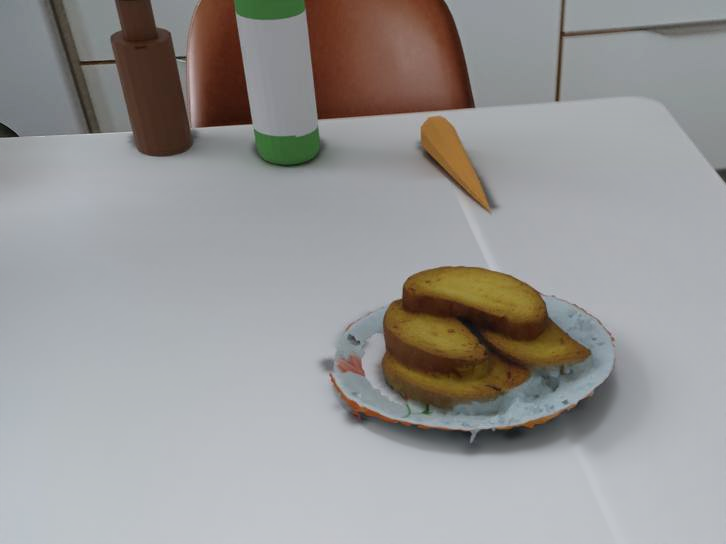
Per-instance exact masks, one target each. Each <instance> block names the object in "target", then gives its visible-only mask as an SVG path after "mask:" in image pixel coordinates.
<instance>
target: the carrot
mask: <svg viewBox="0 0 726 544" xmlns="http://www.w3.org/2000/svg"><path fill="white" fill-rule="evenodd" d="M420 144H421V147H422V148H423V149H424V150H425V151H426V152H427V153H428V154H429V155H430V156H431V157H432V158H433V159H434V160H435V161H436V162H437V163H438V164H439V165H440V166H441V167H442V168H443V169H444V170H445V171H446V172H447V173H448V174H449V175H450V176H451V177H452V178H453V179H454V180H455V181H456V182H457V184H459V185H460V186H461V188H462V189H464V190H465V191H466V192H467V193H468V194H469V195H470V196H471V197H473V198H474V199H475V201H477V202H478V203H479V204H481V206H483V207H484V208H485V209H486V210H488V211H489V212H490V213H492V211H491V207H490V205H489V203H488V200H487V197H486V195H485V192H484V189H483V186H482V183H481V181H480V179H479V176H478V175H477V172H476V171H475V168H474V166H473V164H472V162H471V160H470V158H469V156H468V153H467V152H466V149H465V147H464V145H463V142H462V141H461V139H460V136H459V134H458V132H457V130H456V128H455V126H454V125H453V124H451V122H449V120H447V118H446V117H444V116H441V115H435V116H428V117H427V118H426V120H425V121H424V122H423V123H422V125H420Z"/></svg>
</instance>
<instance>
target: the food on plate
mask: <svg viewBox="0 0 726 544" xmlns="http://www.w3.org/2000/svg"><path fill="white" fill-rule="evenodd" d="M376 334H383V338H384V346H385V353H384V355H383V357H382V359H381V368H382V373H383V378H384V381H385V384H386V385H387V386H388V387H389V388H390V389H392V390H394V391H395V392H396V393H397V394H398V395H399V396H400V397H402V399H403V400H405V401H406V403H407V404H400V403H399V402H395V401H392V400H390V398H389V397H388V396H386V395H383V394H382V392H381V389H377V388H374V387H373V385H372V383H371V382H370V381H369V380H368V378H367V377H366V372H365V370H364V369H363V361H362V360H363V358H364V356H365V355H366V351H365V350H364V348H363V346H364V345H366V341H365V340H370V339H371V338H372V337H373V336H374V335H376ZM349 336H352V337H354V339H355V341H356V342H359V344H358V345H355V344H352V342H351V341H350V340H349V339H348V337H349ZM614 342H615V338H614V337H613V336H612V333H611V332H609V330H608V329H607V328H606V327H605V326H604V325H603V324H602V322H601V321H600V320H599V318H597V317H595V316H594V315H592V314H591V313H588V312H587V310H585V308H582V307H580V306H578V305H577V304H576V303H571V302H569V301H567V300H565V299H561V298H558V297H557V296H555V295H545V294H543V293H542V292H540V291H538V290H537V289H536V288H534V287H533V286H531V285H529V284H528V283H527V282H525V281H523V280H520V279H518V278H517V277H515V276H513V275H511V274H509V273H504V272H501V271H495V270H491V269H487V268H484V267H479V266H465V265H464V266H463V265H457V266H452V265H450V266H449V265H446V266H438V267H434V268H429V269H425V270H421V271H418V272H416V273H413V274H412V275H410V276H409V277H407V279H406V280H405V281H404V283H403V285H402V293H401V298H398V299H396V300H392V302H391V303H390V304H388V305H387V306H383V307H381V308H379V310H374V311H370V312H368V313H367V314H366V315H364V316H362V317H361V318H359V319H357V320H356V321H355V322H352V323H349V325H348V327H346V329H345V331H344V332H343V335H342V336H341V337H340V340H339V342H338V344H337V345H336V346H335V349H336V351H335V354H334V359H333V366H332V368H333V372H329V378H330V382H331V383H332V384H333V386H334V388H335V389H336V391H337V393H340V400H344V401H345V402H346V403H347V404H346V405H347V406H348V407H349V408H352V409H351V410H350V411H351V412H352V415H354V416H356V417H358V418H359V419H361V415H360V414H359V413H358V412H361V413H364V415H365V416H371V417H376V418H378V419H380V420H382V421H385V422H388V423H391V424H397V423H401V424H402V425H404V426H407V427H409V426H412V425H416V426H417V428H418V429H424V430H429V429H430V430H431V429H437V430H442V431H462V432H470V433H471V435H470V441H469V444H472V443H473V442H474V439H475V438H476V436H477V434H478V433H479V432H480V431H482V430H491V431H492V432H495V431H496V430H511V429H513V428H514V427H521V426H522V427H527V428H530V429H533V428H534V426H535V425H541V424H545V423H547V422H548V421H550V420H551V419H553V418H556V417H558V416H559V415H560V414H562V413H563V412H564V411H566V410H567V411H570V410H571V409H573V408H575V407H576V406H577V405H578V403H579V401H582V400H584V399H586V398H588V397H592V396H593V395H594V393H595V390H596V388H597V387H599V386H600V385H602V384H603V383H605V381H606V380H605V379H607V378H608V377H609V376H610V375H611V373H612V370H613V369H614V364H615V361H616V352H615V348H616V347H615V344H614Z"/></svg>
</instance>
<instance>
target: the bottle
mask: <svg viewBox="0 0 726 544" xmlns="http://www.w3.org/2000/svg"><path fill="white" fill-rule="evenodd" d="M114 3H115V7H116V12H117V15H118V20H119V25H120V30H118V31H116V32H114V33H113V34H111V35H110V38H109V40H110V46H111V49H112V53H113V57H114V61H115V65H116V70H117V73H118V76H119V77H118V78H119V82H120V86H121V90H122V94H123V98H124V102H125V106H126V110H127V115H128V119H129V122H130V123H129V124H130V128H131V130H132V136H133V140H134V143H135V146H136V149H137V151H138V152H140V153H141V154H144V155H148V156H152V157H153V156H154V157H167V156H173V155H178V154H180V153H184V152H186V151H188V150H189V149H191V147H192V146H193V136H192V130H191V126H190V121H189V116H188V110H187V106H186V101H185V96H184V91H183V86H182V81H181V76H180V72H179V67H178V61H177V56H176V52H175V47H174V42H173V36H172V33H171V31H169V30H167V29H165V28H162V27H158V26H157V25H156V20H155V14H154V10H153V6H152V5H153V4H152V1H151V0H137V1H121V0H114Z"/></svg>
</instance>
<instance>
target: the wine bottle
mask: <svg viewBox="0 0 726 544" xmlns="http://www.w3.org/2000/svg"><path fill="white" fill-rule="evenodd" d="M233 4H234V10H235V11H234V13H235V19H236V25H237V32H238V38H239V45H240V51H241V57H242V64H243V70H244V77H245V83H246V90H247V97H248V103H249V108H250V109H249V110H250V116H251V124H252V128H253V135H254V141H255V146H256V149H257V152H258V155H259V156H260V157H261V158H262V159H263V160H265V161H267V162H269V163H270V164H275V165H281V166H282V165H283V166H293V165H299V164H303V163H306V162H309V161H311V160H313V159H314V158H315V157H316V156H317V155H318V153H319V151H320V146H321V140H320V138H321V137H320V130H319V119H318V118H319V117H318V109H317V101H316V100H317V99H316V92H315V83H314V72H313V65H312V55H311V45H310V36H309V27H308V19H307V10H306V9H307V8H306V3H305V0H233Z"/></svg>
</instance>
